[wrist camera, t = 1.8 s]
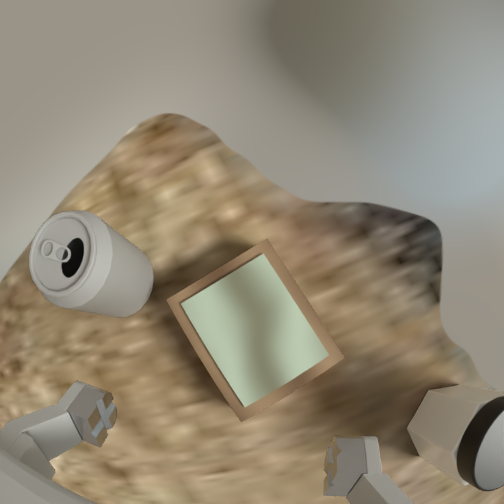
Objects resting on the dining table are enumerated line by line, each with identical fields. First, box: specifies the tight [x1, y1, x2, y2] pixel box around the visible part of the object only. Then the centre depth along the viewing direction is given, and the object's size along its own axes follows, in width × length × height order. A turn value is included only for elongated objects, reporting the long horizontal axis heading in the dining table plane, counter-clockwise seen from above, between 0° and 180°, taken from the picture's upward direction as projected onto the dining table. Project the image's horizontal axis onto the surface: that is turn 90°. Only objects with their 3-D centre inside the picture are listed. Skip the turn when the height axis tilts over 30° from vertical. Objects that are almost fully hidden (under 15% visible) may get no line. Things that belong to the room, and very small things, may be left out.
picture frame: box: [167, 239, 344, 422], centre depth 27 cm, size 10×12×4 cm
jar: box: [407, 385, 504, 491], centre depth 20 cm, size 9×8×12 cm
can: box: [29, 210, 154, 318], centre depth 25 cm, size 8×8×12 cm
